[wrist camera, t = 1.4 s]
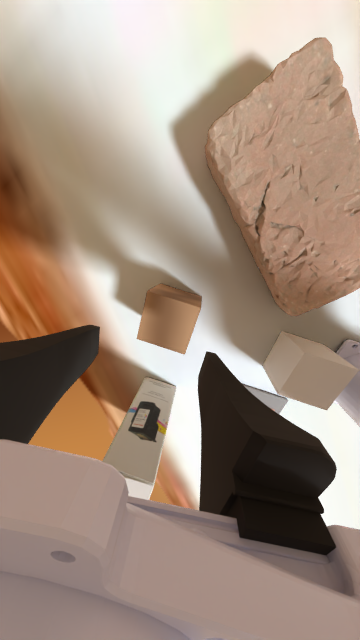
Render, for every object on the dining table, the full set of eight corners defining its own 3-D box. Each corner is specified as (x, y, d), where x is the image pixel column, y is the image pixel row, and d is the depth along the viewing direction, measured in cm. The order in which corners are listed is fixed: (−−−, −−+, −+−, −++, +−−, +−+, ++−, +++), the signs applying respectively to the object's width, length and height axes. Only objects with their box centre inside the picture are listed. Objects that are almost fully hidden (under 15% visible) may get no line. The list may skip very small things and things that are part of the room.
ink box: (163, 426, 28) (136, 538, 17) (134, 417, 28) (88, 521, 17) (177, 385, 25) (155, 489, 14) (144, 375, 25) (97, 469, 14)
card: (287, 398, 23) (288, 401, 23) (254, 447, 26) (255, 449, 26) (236, 382, 23) (236, 384, 23) (210, 432, 27) (210, 434, 26)
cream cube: (323, 344, 20) (359, 370, 15) (300, 377, 22) (326, 410, 17) (281, 330, 20) (304, 352, 16) (262, 365, 22) (277, 394, 17)
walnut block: (201, 296, 20) (201, 308, 15) (188, 333, 22) (184, 354, 17) (160, 283, 20) (147, 290, 16) (151, 321, 22) (136, 338, 17)
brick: (200, 159, 16) (198, 122, 12) (292, 81, 14) (334, -2, 9) (274, 308, 20) (294, 322, 15) (357, 267, 17) (408, 270, 13)
